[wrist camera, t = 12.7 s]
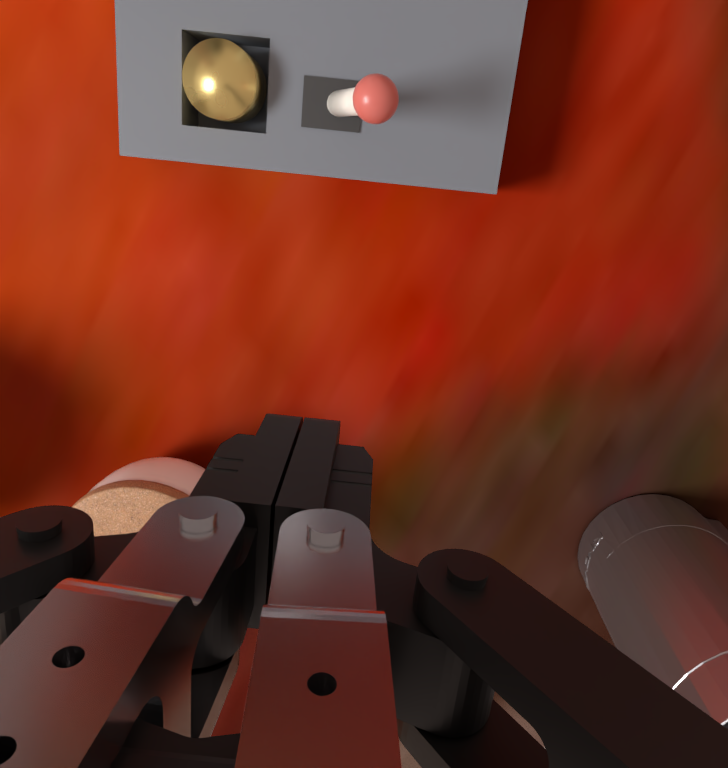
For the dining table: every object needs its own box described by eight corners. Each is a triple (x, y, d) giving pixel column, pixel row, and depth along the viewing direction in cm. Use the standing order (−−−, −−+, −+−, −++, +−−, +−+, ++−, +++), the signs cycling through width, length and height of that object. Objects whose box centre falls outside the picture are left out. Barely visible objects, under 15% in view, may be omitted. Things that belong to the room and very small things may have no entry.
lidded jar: (178, 402, 42) (121, 466, 33) (287, 509, 44) (262, 595, 35) (76, 492, 44) (-2, 574, 35) (184, 589, 47) (136, 688, 38)
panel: (537, -141, 31) (558, -184, 27) (485, 191, 36) (496, 194, 33) (141, -181, 31) (106, -230, 27) (147, 156, 37) (118, 155, 33)
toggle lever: (355, 85, 31) (409, 75, 26) (351, 127, 32) (403, 126, 27) (317, 79, 30) (365, 67, 25) (314, 123, 31) (361, 120, 26)
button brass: (268, 52, 32) (256, 41, 30) (265, 126, 34) (254, 123, 31) (199, 45, 32) (182, 34, 30) (199, 119, 34) (181, 115, 31)
